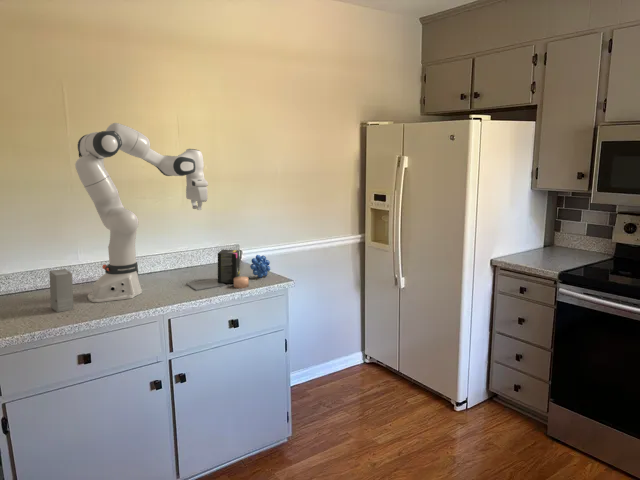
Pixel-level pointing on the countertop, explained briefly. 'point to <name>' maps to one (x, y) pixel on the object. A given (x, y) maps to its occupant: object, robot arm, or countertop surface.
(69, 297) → the skincare box
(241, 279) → the tan round lump
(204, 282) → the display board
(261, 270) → the grapes
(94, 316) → the countertop surface
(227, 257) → the tampon box
